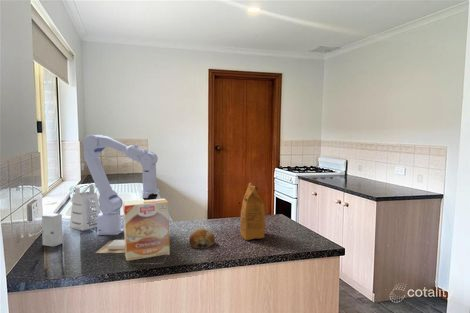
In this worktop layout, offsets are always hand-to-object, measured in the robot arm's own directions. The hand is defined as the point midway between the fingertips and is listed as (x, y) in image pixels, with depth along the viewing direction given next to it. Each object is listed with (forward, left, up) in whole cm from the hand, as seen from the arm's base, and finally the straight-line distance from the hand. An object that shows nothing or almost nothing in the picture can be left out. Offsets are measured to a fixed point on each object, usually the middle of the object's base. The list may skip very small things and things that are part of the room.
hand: (150, 211), depth 142 cm
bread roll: (+24, -15, -10) cm, 30 cm away
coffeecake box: (+6, -25, -10) cm, 28 cm away
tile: (-7, -14, -9) cm, 18 cm away
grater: (-35, +13, -10) cm, 39 cm away
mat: (-7, -17, -10) cm, 21 cm away
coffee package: (+44, -5, -10) cm, 45 cm away
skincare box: (-36, -13, -10) cm, 40 cm away
